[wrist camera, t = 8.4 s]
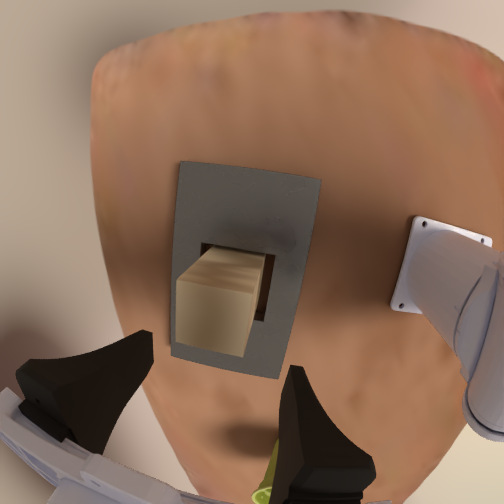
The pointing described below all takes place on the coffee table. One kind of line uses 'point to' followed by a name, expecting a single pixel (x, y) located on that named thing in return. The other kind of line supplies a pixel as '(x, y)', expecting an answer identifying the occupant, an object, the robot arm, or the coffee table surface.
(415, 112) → the coffee table surface
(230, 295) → the birch peg
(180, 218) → the slotted plate
